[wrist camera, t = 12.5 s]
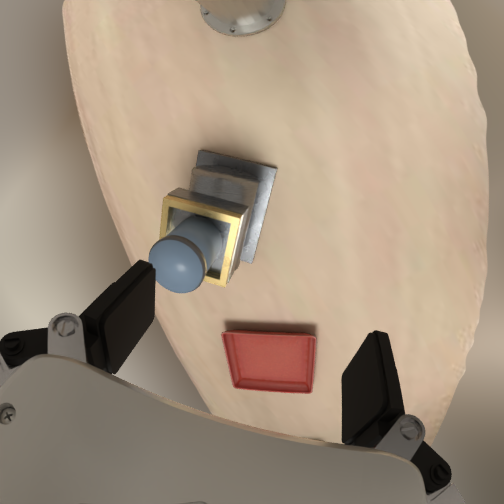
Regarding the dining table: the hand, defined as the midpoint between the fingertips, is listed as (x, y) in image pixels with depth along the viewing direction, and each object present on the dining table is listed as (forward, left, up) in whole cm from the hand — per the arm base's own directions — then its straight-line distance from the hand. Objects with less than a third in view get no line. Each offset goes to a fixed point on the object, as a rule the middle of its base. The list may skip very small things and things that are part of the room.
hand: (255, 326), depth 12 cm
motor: (+8, -9, -33) cm, 35 cm away
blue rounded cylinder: (+8, -9, -20) cm, 24 cm away
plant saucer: (+37, +6, -34) cm, 51 cm away
